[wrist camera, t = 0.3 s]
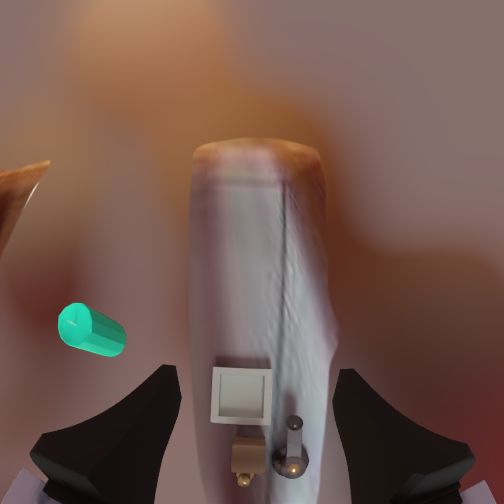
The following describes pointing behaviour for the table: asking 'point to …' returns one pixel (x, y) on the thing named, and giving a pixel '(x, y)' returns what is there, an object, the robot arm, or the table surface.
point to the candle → (91, 330)
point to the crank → (293, 449)
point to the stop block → (248, 455)
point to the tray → (241, 396)
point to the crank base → (247, 477)
